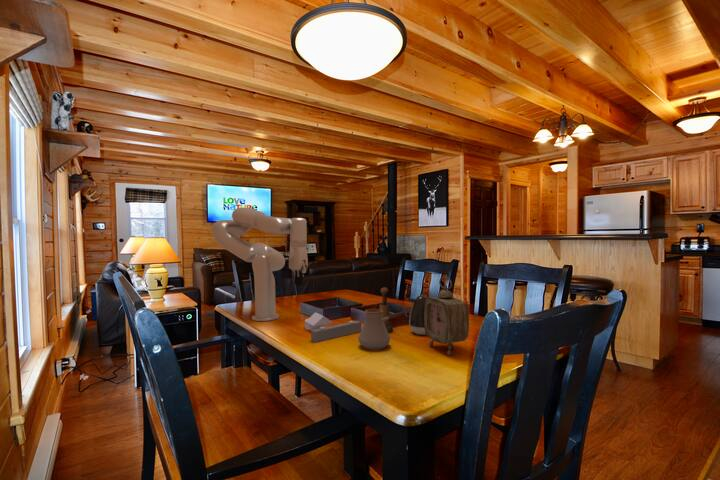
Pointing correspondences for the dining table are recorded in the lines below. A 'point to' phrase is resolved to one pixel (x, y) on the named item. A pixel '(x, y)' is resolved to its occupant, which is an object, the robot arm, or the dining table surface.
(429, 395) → the dining table surface
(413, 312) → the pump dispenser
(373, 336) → the coffee pot
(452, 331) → the tabletop clock
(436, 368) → the dining table surface
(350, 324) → the bar
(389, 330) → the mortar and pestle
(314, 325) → the wedge on round base
